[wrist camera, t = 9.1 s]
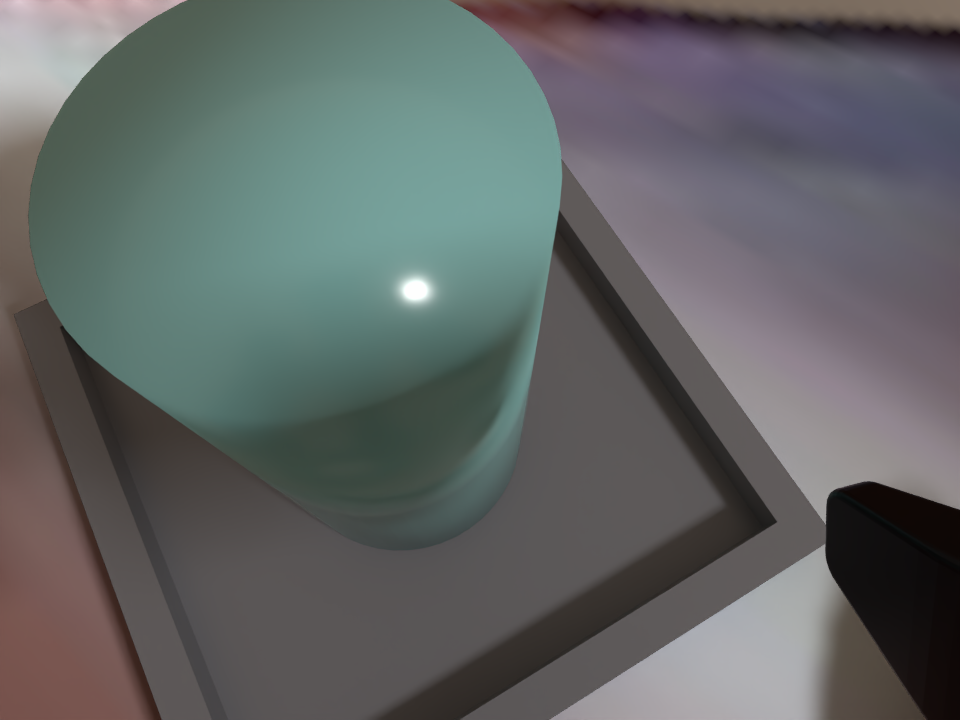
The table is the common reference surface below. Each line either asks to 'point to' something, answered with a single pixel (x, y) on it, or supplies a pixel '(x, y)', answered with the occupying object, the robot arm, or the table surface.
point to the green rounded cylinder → (314, 246)
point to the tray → (459, 561)
